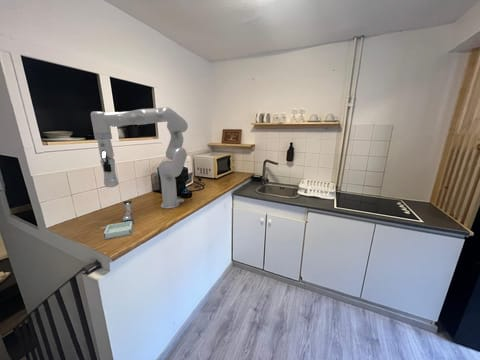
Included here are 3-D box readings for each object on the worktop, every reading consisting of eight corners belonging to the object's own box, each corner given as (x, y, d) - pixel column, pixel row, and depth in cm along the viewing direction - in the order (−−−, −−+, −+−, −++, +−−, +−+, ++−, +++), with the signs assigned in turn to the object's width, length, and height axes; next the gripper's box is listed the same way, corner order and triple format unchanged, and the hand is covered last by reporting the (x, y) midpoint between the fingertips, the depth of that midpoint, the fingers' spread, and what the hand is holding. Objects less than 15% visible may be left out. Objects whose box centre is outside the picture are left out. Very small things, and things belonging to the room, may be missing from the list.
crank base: (134, 220, 117) (133, 217, 117) (133, 225, 112) (133, 221, 111) (101, 225, 111) (101, 222, 110) (99, 230, 105) (98, 227, 105)
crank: (131, 220, 112) (129, 207, 110) (122, 222, 110) (120, 209, 108) (133, 211, 124) (131, 199, 122) (124, 212, 123) (123, 201, 121)
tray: (132, 225, 111) (132, 221, 110) (131, 234, 101) (130, 229, 100) (108, 230, 106) (107, 224, 105) (104, 239, 97) (103, 234, 96)
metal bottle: (108, 185, 113) (102, 150, 108) (121, 185, 114) (115, 150, 109) (102, 188, 107) (95, 151, 102) (115, 188, 108) (109, 151, 103)
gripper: (108, 137, 97) (114, 172, 102) (114, 135, 113) (119, 167, 117) (90, 137, 94) (97, 174, 99) (98, 136, 110) (104, 168, 114)
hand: (109, 170), depth 108 cm, fingers closed on metal bottle, 6 cm apart
